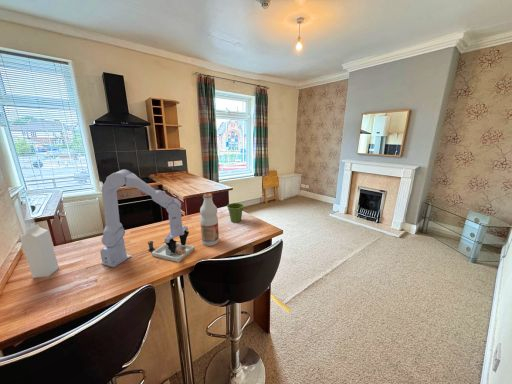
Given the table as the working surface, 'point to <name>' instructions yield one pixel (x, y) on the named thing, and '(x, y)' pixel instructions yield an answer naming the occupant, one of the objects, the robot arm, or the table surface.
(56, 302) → the table surface
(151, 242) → the knob
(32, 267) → the milk
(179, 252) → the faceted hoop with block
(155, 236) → the table surface
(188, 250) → the tray
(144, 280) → the table surface
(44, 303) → the table surface
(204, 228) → the fruit juice
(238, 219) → the plant pot
